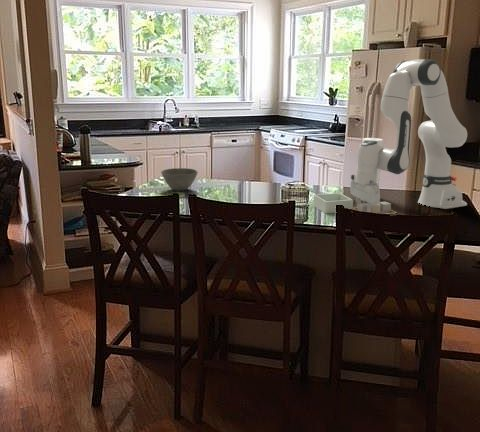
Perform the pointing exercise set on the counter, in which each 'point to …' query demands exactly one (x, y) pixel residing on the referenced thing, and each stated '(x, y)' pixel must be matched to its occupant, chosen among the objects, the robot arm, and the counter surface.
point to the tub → (331, 202)
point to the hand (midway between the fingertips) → (363, 209)
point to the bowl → (179, 178)
